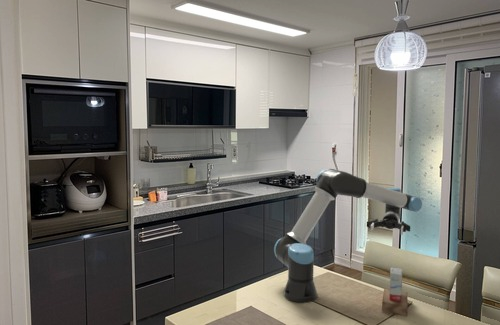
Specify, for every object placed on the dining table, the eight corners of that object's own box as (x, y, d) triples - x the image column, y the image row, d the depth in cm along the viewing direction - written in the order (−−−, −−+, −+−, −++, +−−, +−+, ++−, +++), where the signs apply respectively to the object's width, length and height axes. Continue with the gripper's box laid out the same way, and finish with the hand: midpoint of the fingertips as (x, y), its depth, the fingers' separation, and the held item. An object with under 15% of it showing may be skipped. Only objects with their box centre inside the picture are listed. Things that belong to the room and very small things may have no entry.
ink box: (401, 302, 164) (402, 275, 163) (389, 300, 166) (389, 273, 164) (401, 293, 172) (402, 268, 171) (389, 292, 173) (390, 266, 172)
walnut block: (381, 312, 165) (382, 301, 164) (383, 299, 178) (384, 288, 177) (407, 317, 161) (407, 305, 160) (407, 303, 174) (407, 292, 173)
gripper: (416, 230, 196) (414, 241, 177) (365, 224, 207) (359, 234, 188) (416, 215, 196) (415, 225, 177) (366, 211, 206) (359, 219, 187)
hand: (386, 230), depth 182 cm, fingers open, 13 cm apart
